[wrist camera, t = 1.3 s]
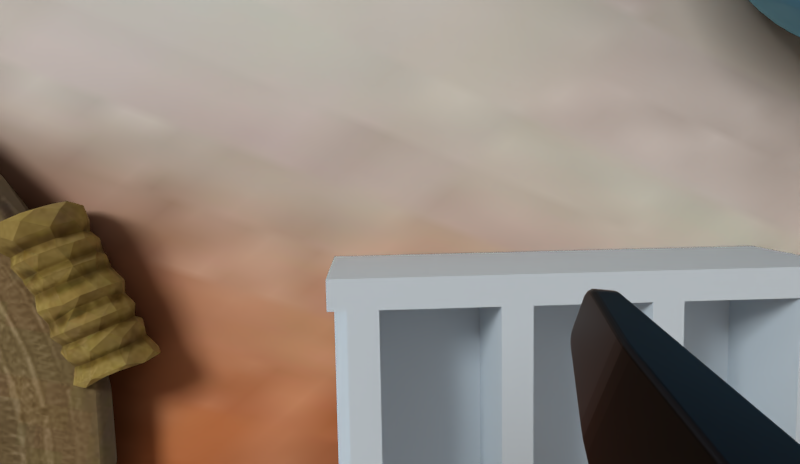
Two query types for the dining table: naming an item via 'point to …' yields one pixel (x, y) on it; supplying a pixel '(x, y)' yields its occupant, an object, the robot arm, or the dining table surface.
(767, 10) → the casserole dish
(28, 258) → the decorative disc
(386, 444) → the rack
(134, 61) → the dining table surface
